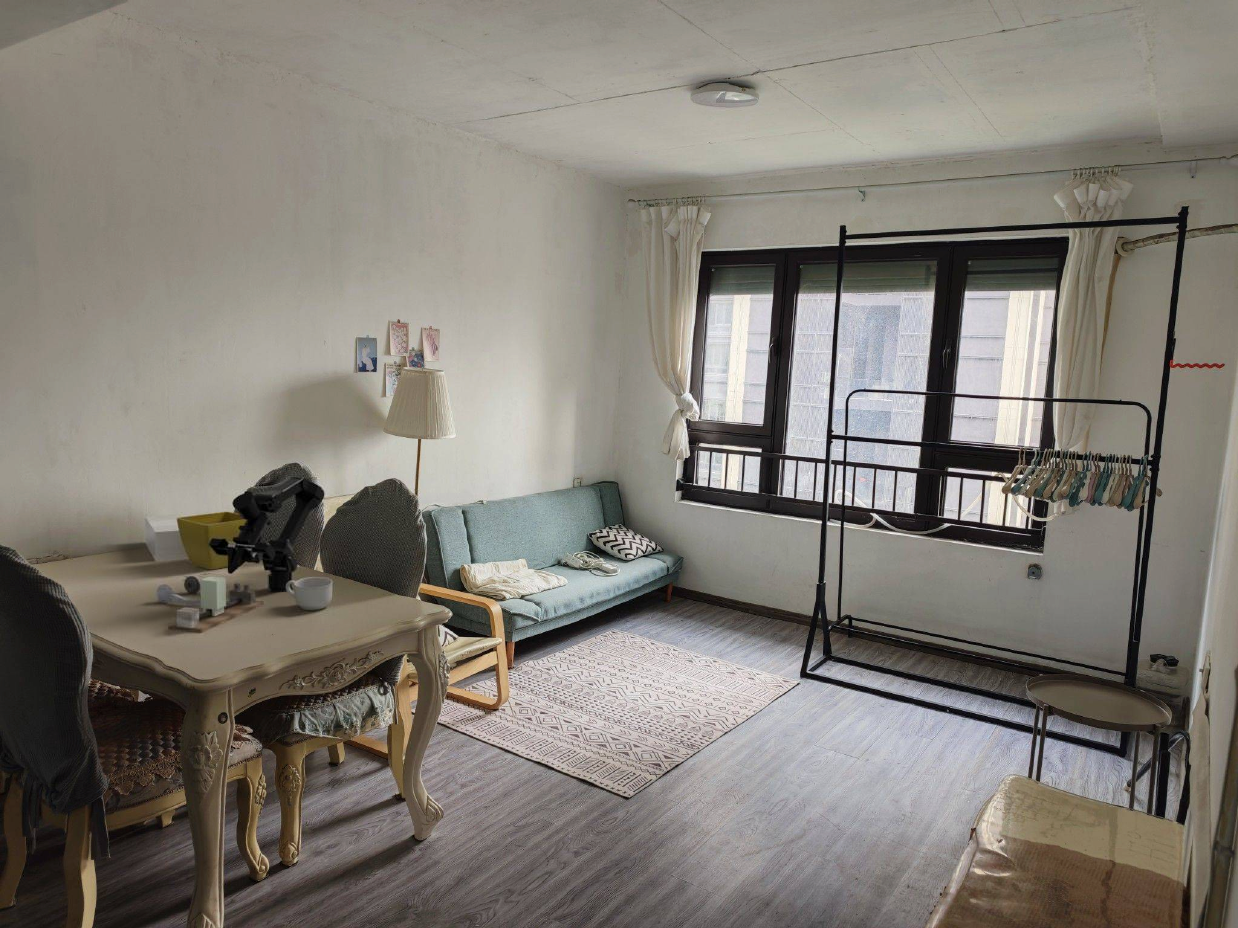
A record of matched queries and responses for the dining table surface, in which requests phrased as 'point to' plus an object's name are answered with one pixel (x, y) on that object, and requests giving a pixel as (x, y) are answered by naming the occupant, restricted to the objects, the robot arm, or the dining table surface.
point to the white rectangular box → (164, 538)
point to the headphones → (167, 595)
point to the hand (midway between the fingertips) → (229, 573)
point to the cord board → (234, 607)
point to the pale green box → (213, 595)
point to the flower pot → (208, 536)
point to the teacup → (311, 592)
